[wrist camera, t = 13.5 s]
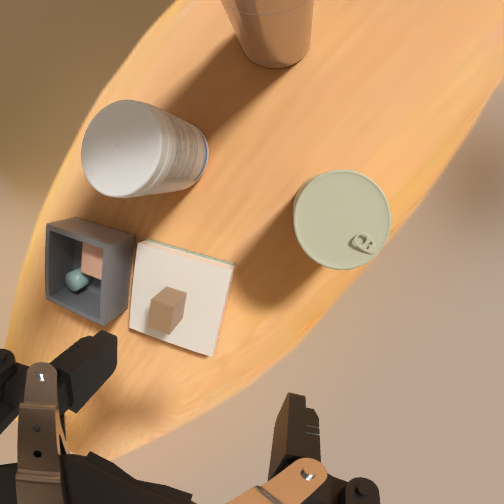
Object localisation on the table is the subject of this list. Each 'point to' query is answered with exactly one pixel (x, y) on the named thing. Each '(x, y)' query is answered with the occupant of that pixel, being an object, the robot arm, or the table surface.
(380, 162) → the table surface
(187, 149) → the supplement tub
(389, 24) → the table surface
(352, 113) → the table surface
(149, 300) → the lid
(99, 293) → the box
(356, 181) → the can
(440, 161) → the table surface
